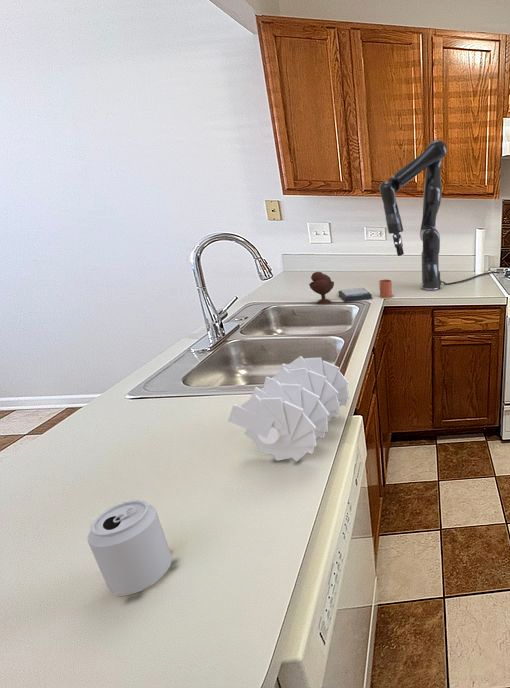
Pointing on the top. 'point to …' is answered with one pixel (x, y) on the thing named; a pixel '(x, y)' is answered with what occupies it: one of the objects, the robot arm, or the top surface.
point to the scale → (354, 294)
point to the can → (129, 547)
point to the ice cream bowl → (321, 285)
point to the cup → (385, 288)
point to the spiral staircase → (293, 408)
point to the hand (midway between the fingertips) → (400, 255)
